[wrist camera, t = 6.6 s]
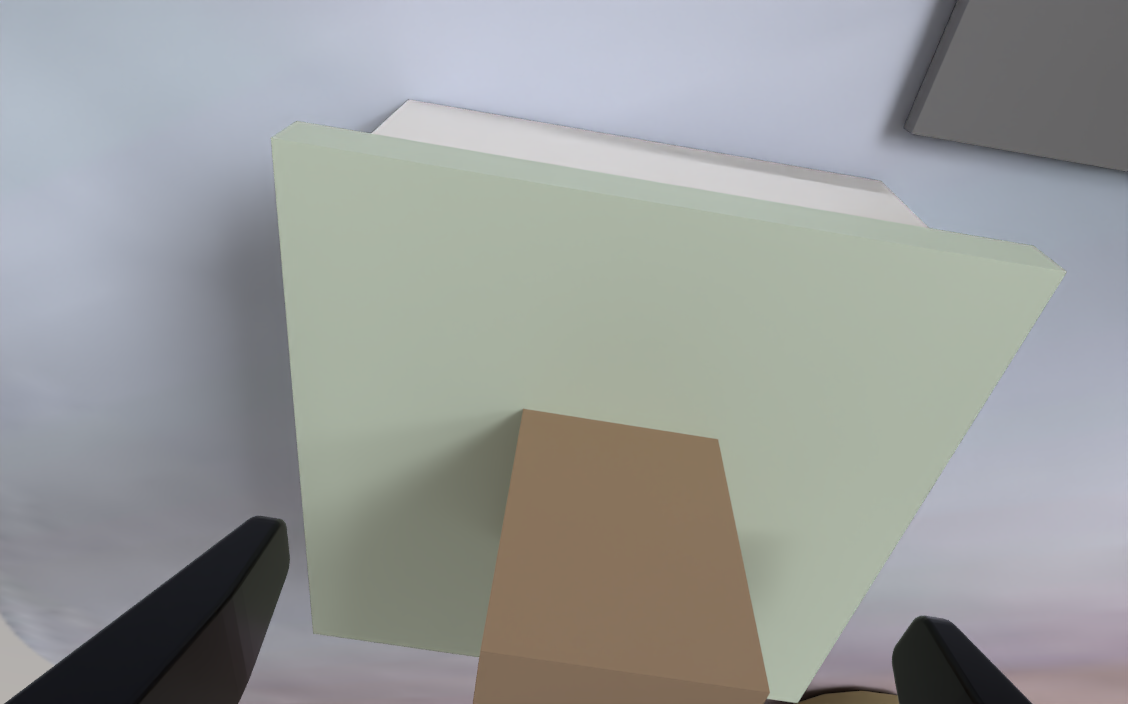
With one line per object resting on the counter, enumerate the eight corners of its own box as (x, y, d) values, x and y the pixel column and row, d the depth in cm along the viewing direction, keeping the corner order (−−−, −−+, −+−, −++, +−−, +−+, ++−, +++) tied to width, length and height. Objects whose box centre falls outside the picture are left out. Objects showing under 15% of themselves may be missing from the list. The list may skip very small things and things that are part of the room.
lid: (1032, 245, 9) (1364, 504, 5) (788, 667, 15) (856, 951, 11) (296, 120, 9) (34, 294, 5) (326, 599, 14) (215, 868, 10)
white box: (881, 181, 13) (976, 275, 9) (741, 511, 18) (771, 651, 14) (408, 99, 12) (334, 167, 9) (399, 458, 17) (348, 589, 14)
